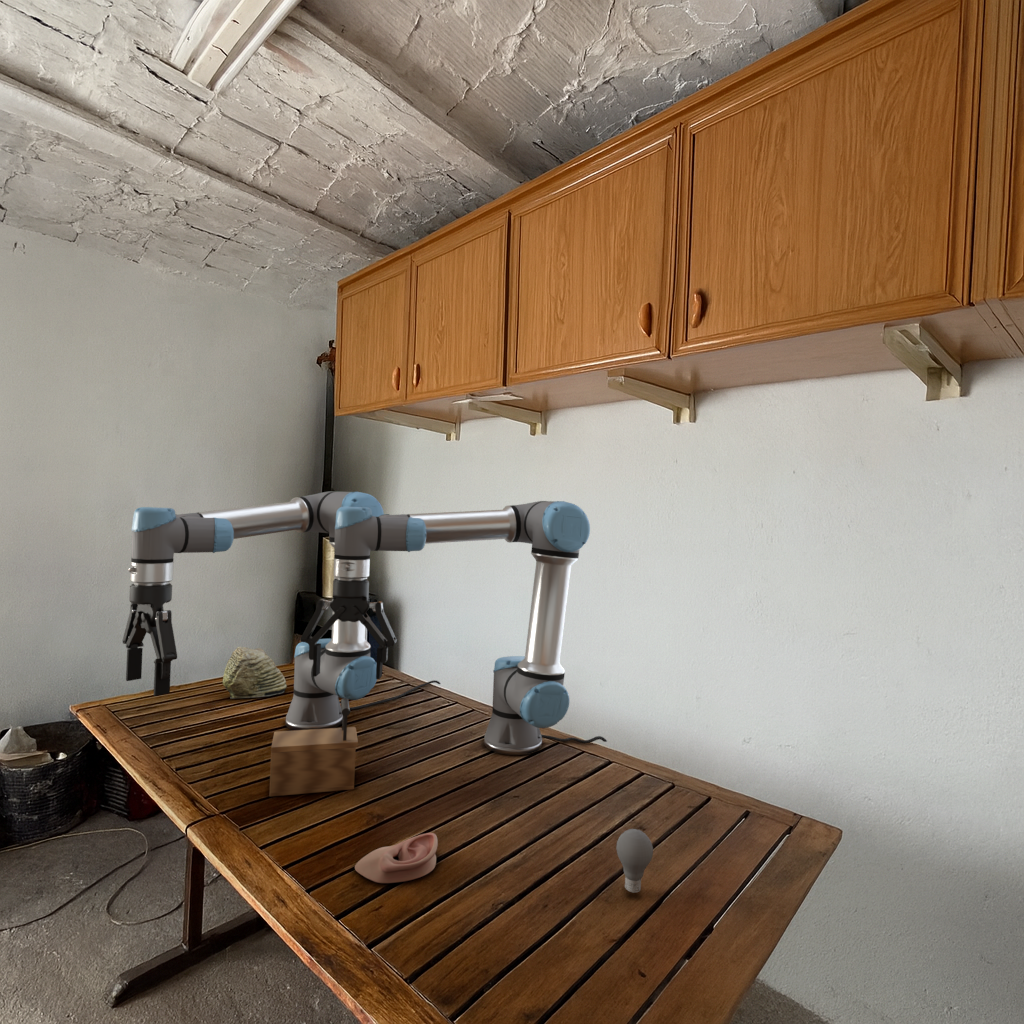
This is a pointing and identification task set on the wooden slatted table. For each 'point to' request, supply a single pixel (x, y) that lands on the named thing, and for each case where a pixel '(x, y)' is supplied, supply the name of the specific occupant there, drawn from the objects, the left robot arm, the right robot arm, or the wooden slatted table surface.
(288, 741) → the lid
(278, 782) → the chest
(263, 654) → the fossil
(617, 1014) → the wooden slatted table surface
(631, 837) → the light bulb
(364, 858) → the anatomical model
